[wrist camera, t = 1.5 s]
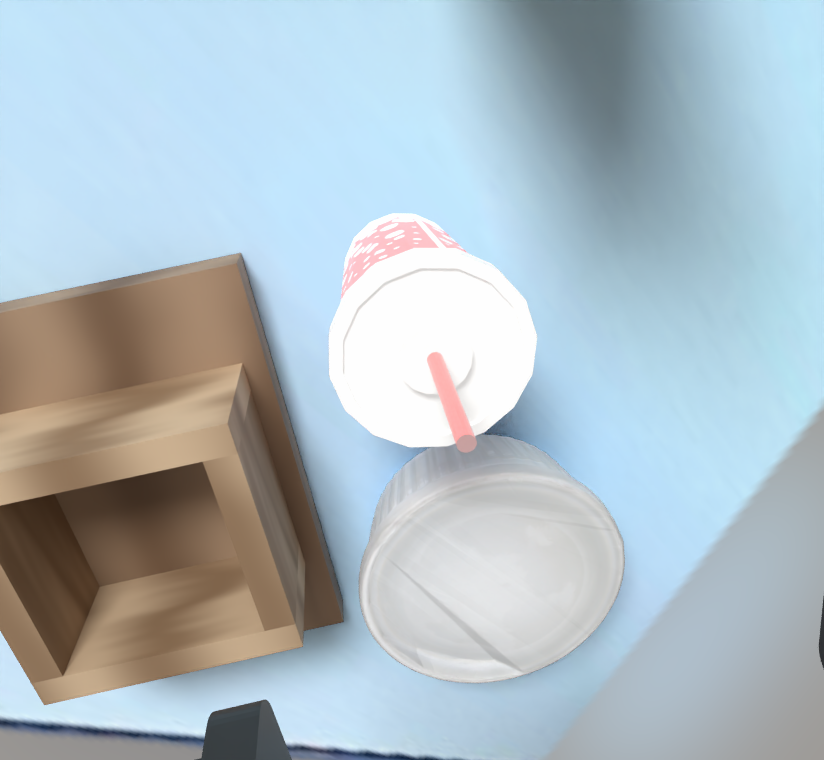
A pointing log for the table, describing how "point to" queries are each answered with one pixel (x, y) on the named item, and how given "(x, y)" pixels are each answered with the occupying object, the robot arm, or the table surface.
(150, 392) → the cup holder
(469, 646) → the ramekin
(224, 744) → the robot arm
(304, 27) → the table surface
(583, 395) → the table surface
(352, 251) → the beverage cup
